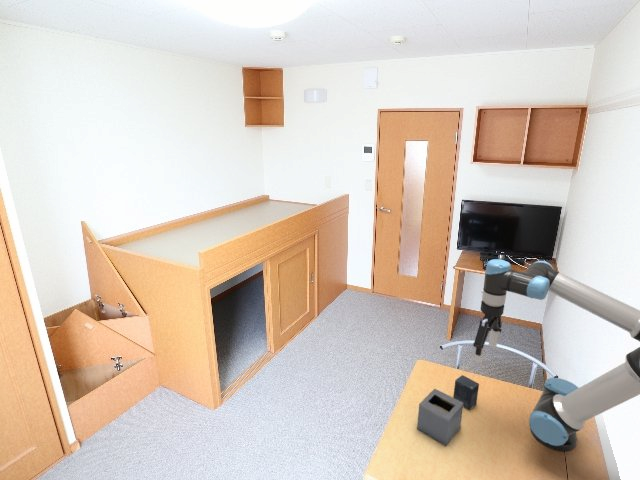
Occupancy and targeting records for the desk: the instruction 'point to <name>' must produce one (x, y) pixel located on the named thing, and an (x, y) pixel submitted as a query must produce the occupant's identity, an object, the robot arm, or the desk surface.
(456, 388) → the box
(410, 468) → the desk surface
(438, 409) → the gray slotted cube
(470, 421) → the desk surface
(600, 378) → the robot arm
